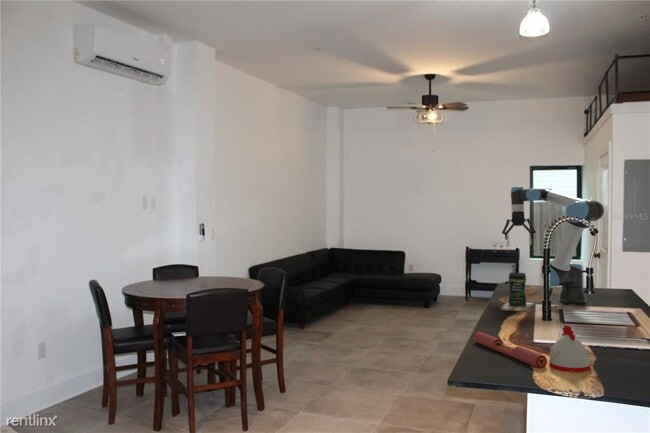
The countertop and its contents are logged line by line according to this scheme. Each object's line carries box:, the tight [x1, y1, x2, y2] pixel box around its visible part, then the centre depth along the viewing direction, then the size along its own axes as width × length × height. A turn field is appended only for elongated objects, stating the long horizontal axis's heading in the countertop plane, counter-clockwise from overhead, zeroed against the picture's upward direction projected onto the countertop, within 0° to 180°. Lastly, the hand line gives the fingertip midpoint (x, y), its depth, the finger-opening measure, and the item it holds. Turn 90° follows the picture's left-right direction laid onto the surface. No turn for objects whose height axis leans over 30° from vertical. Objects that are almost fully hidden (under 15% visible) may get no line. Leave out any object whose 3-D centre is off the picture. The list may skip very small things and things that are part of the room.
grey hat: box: [548, 325, 591, 373], centre depth 208 cm, size 14×14×15 cm
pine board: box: [500, 301, 535, 312], centre depth 324 cm, size 14×20×2 cm
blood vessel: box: [473, 331, 548, 369], centre depth 227 cm, size 42×5×5 cm, turn 17°
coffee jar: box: [508, 272, 527, 306], centre depth 324 cm, size 10×8×19 cm
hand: (519, 244), depth 356 cm, fingers open, 13 cm apart
